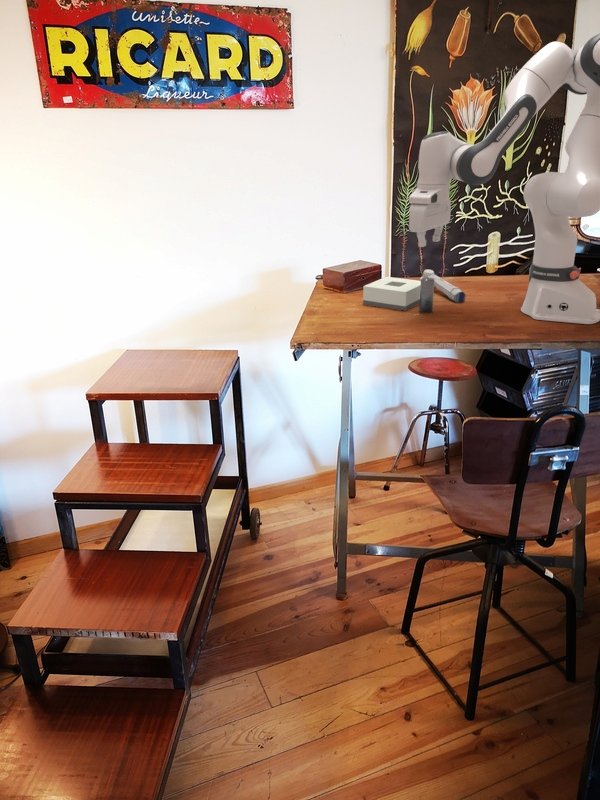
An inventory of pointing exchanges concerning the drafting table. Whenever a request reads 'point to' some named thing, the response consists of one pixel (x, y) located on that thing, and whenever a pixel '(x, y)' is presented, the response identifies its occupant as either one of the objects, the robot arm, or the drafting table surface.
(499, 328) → the drafting table surface
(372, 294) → the socket block
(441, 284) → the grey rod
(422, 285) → the dark grey upright bar
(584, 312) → the robot arm
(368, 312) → the drafting table surface
